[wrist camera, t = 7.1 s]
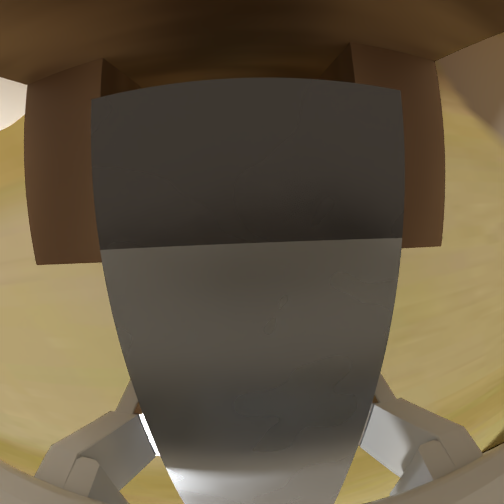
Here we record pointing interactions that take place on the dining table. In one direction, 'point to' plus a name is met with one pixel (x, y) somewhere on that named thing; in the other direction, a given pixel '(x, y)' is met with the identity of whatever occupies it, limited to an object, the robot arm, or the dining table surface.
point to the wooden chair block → (220, 67)
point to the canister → (11, 101)
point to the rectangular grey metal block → (252, 273)
